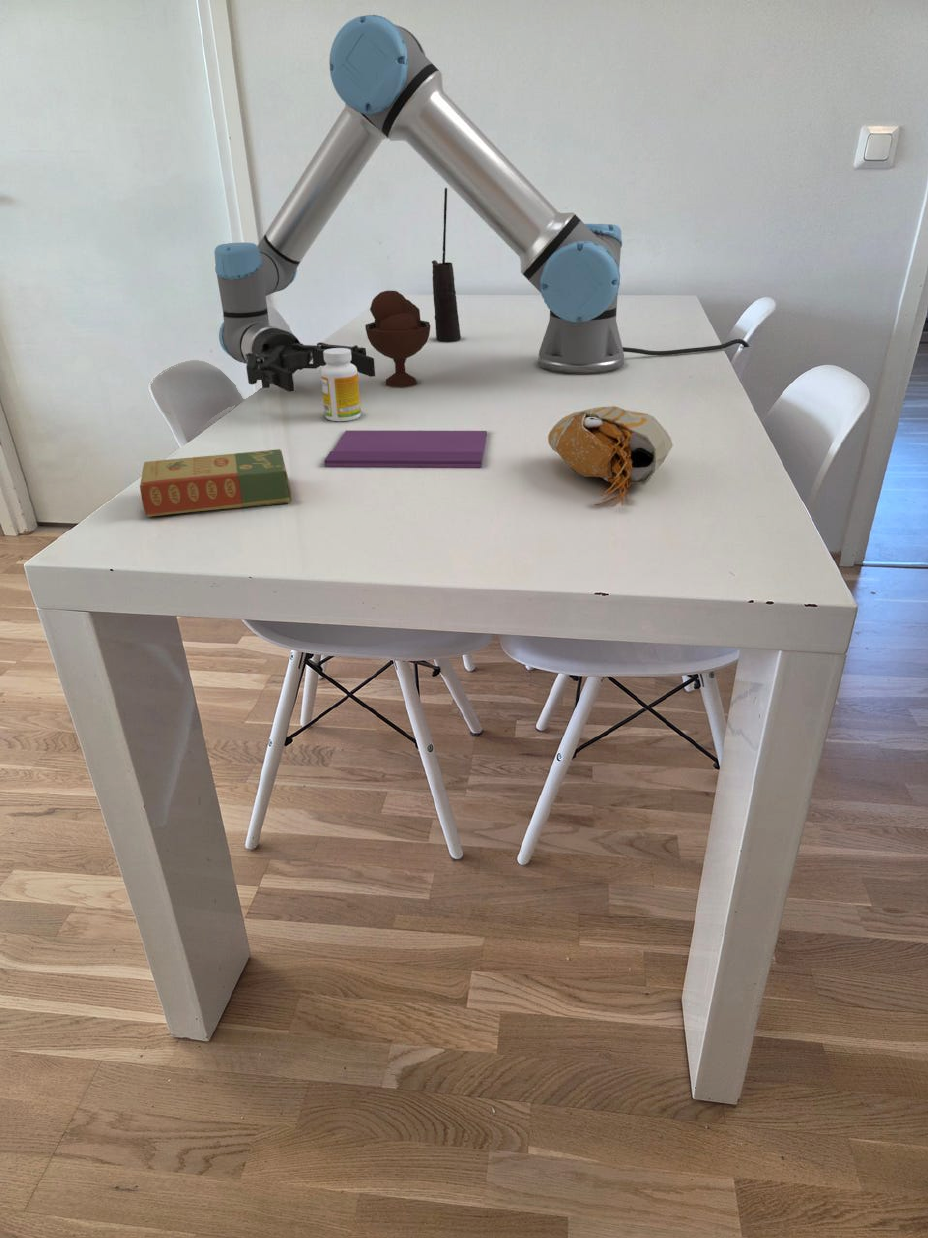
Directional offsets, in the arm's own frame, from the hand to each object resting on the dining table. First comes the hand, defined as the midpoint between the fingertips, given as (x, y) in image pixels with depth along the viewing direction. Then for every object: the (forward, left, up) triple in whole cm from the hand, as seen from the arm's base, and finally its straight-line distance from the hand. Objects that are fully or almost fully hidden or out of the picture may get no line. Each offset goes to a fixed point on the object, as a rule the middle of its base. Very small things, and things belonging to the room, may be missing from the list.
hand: (333, 374), depth 125 cm
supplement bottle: (-1, +1, -6) cm, 6 cm away
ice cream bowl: (-7, -19, -6) cm, 21 cm away
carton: (+7, +35, -6) cm, 36 cm away
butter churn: (-11, -55, -6) cm, 56 cm away
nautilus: (-38, +28, -6) cm, 48 cm away
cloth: (-13, +16, -6) cm, 22 cm away
